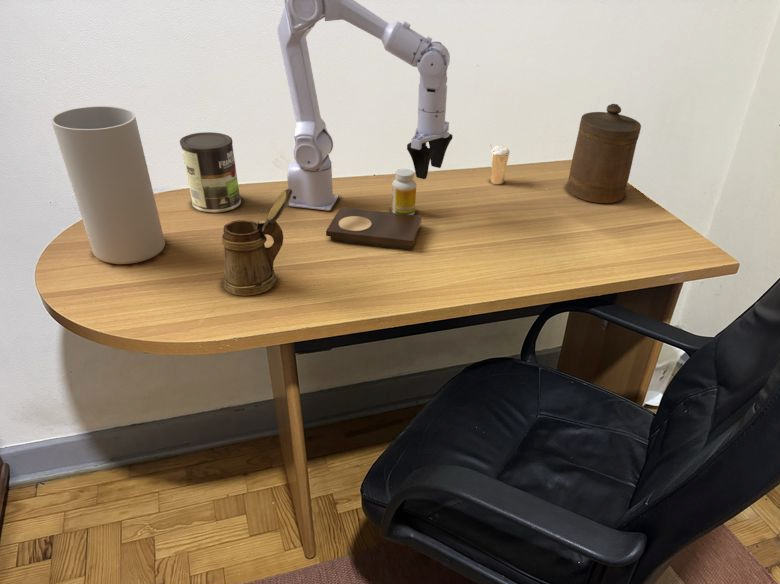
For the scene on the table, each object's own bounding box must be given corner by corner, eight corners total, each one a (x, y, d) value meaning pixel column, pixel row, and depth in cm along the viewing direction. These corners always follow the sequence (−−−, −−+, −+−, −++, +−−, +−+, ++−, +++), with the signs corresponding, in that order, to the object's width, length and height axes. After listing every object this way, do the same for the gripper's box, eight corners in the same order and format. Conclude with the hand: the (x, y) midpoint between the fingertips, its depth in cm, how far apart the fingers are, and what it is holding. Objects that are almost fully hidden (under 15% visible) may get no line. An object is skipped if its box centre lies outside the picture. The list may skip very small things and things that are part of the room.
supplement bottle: (387, 210, 143) (387, 169, 137) (406, 205, 146) (407, 165, 140) (400, 219, 140) (401, 178, 134) (419, 214, 143) (421, 174, 137)
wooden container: (633, 193, 163) (656, 106, 150) (606, 209, 154) (627, 118, 140) (585, 176, 170) (602, 92, 157) (555, 190, 160) (571, 102, 147)
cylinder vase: (85, 244, 120) (42, 111, 105) (152, 229, 127) (121, 102, 112) (105, 272, 113) (62, 134, 98) (175, 255, 120) (145, 123, 105)
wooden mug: (301, 293, 113) (292, 200, 102) (222, 297, 110) (204, 201, 99) (300, 268, 120) (292, 178, 109) (225, 271, 116) (209, 179, 106)
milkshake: (482, 179, 162) (486, 141, 156) (500, 177, 164) (505, 140, 158) (490, 186, 159) (494, 147, 153) (508, 184, 161) (513, 146, 155)
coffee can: (249, 197, 143) (240, 135, 134) (228, 215, 134) (217, 151, 126) (206, 190, 143) (195, 129, 135) (183, 209, 135) (169, 144, 127)
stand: (326, 241, 129) (325, 230, 127) (341, 217, 138) (340, 205, 137) (412, 251, 128) (413, 240, 127) (421, 226, 138) (421, 215, 136)
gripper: (434, 121, 122) (431, 187, 130) (463, 103, 133) (458, 165, 141) (402, 114, 124) (401, 179, 132) (433, 97, 135) (430, 159, 143)
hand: (428, 172), depth 137 cm, fingers open, 7 cm apart
